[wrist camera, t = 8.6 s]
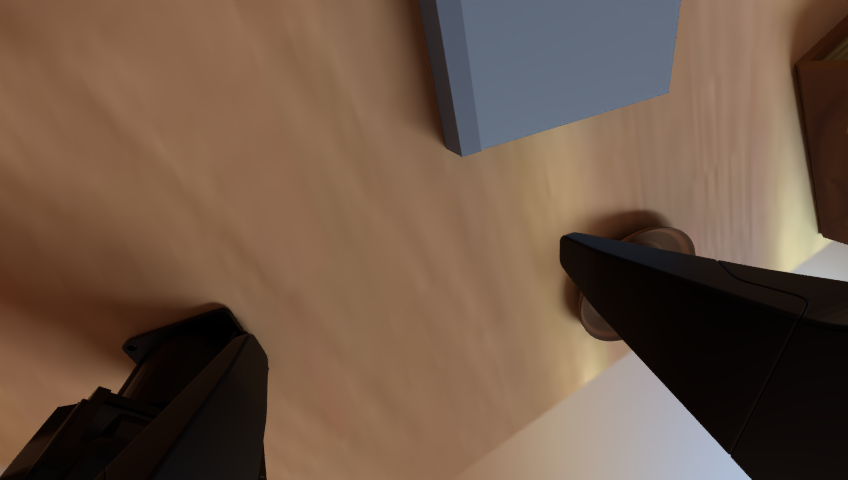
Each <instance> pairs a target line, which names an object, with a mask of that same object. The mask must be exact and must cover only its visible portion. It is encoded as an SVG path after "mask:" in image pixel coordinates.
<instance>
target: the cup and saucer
mask: <svg viewBox="0 0 848 480" xmlns="http://www.w3.org/2000/svg"><path fill="white" fill-rule="evenodd" d="M620 241H623V242H628V243H633V244H638V245H643V246H648V247H654V248H659V249H664V250H669V251H674V252H679V253H684V254H690V255H695V248H694V245H693V242H692V240H691V239H690V237H689V236H688V235H687V234H685V233H684V232H682V231H681V230H678V229H675V228H670V227H651V228H647V229H643V230H641V231H638V232H636V233H633V234H631V235H629V236H627V237H625V238H624V239H622V240H620ZM578 313H579V318H580V321H581V323H582V325H583V327H584V328H585V330H586V331H587V332H588V333H589V334H590V335H591V336H592V337H594V338H596V339H599V340H602V341H619V340H622V338H621V337H620V336H619V335H618V334H617V333H616V332H615V331H614V330H613V329H612V328H611V327H610V325H609V324H608V323H607V322H606V321H605V320H604V319H603V318H602V317H601V316H600V315H599V314H598V312H597V311H596V310H595V309H594V308H593V307H592V306H591V304H590V303H589V302H588V301H587V299H586V298H585V297H584V295H583V294H582V293H581V292H580V297H579V303H578Z"/></svg>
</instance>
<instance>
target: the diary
mask: <svg viewBox="0 0 848 480" xmlns="http://www.w3.org/2000/svg"><path fill="white" fill-rule="evenodd" d="M795 65H796V71H797V78H798V84H799V91H800V98H801V104H802V111H803V117H804V124H805V130H806V137H807V143H808V150H809V157H810V163H811V170H812V176H813V183H814V189H815V196H816V202H817V209H818V216H819V222H820V229H821V234H822V236H823V237H825V238H828V239H831V240H834V241H837V242H841V243H844V244H847V245H848V15H847V16H846V17H845V18H844V19H843V20H842V21H841V22H840V23H839V24H837V25H836V26H835V27H834V28H833V29H832V30H831V31H830V32H829V33H828V34H827V35H826V36H825V37H824V38H822V39H821V40H820V41H819V42H818V43H817V44H816V45H815V46H814V47H813V48H812V49H811V50H810V51H809V52H807V53H806V54H805V55H804V56H803V57H802V58H801V59H800V60H799V61H798V62H797V63H796V64H795Z"/></svg>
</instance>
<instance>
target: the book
mask: <svg viewBox="0 0 848 480" xmlns="http://www.w3.org/2000/svg"><path fill="white" fill-rule="evenodd" d="M418 1H419V6H420V12H421V17H422V22H423V28H424V33H425V38H426V43H427V49H428V54H429V59H430V65H431V70H432V75H433V81H434V86H435V91H436V96H437V102H438V107H439V112H440V118H441V123H442V128H443V133H444V139H445V144H446V149H448V150H450V151H452V152H454V153H456V154H458V155H460V156H461V157H463V156H467V155H470V154H473V153H477V152H480V151H481V150H483V149H486V148H489V147H492V146H496V145H499V144H502V143H506V142H509V141H512V140H515V139H519V138H522V137H525V136H529V135H532V134H535V133H538V132H542V131H545V130H548V129H552V128H555V127H558V126H561V125H565V124H568V123H571V122H575V121H578V120H581V119H584V118H588V117H591V116H594V115H598V114H601V113H604V112H607V111H611V110H614V109H617V108H621V107H624V106H627V105H630V104H634V103H637V102H640V101H644V100H647V99H650V98H653V97H657V96H660V95H663V94H667V93H669V86H670V79H671V71H672V64H673V56H674V48H675V41H676V33H677V25H678V18H679V10H680V2H681V0H418Z"/></svg>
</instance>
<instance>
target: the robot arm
mask: <svg viewBox="0 0 848 480" xmlns="http://www.w3.org/2000/svg"><path fill="white" fill-rule="evenodd" d="M560 263H561V265H562V267H563V269H564V270H565V271H566V273H567V274H568V275H569V277H570V278H571V279H572V281H573V282H574V283H575V285H576V286H577V287H578V289H579V290H580V291H581V293H582V294H583V295H584V297H585V298H586V299H587V301H588V302H589V303H590V304H591V306H592V307H593V308H594V309H595V310H596V311H597V312H598V314H599V315H600V316H601V317H602V318H603V319H604V320H605V321H606V322H607V323H608V324H609V325H610V327H611V328H612V329H613V330H614V331H615V332H616V333H617V334H618V335H619V336H620V337H621V338H622V340H623V341H624V342H625V343H626V344H627V345H628V346H629V347H630V348H631V349H632V350H633V351H634V352H635V354H637V356H638V357H639V358H640V359H641V360H642V361H643V362H644V363H645V364H646V365H647V366H648V368H649V369H650V370H651V371H652V372H653V373H654V374H655V375H656V376H657V377H658V378H659V379H660V380H661V382H662V383H663V384H664V385H665V386H666V387H667V388H668V389H669V390H670V391H671V392H672V393H673V395H674V396H675V397H676V398H677V399H678V400H679V401H680V402H681V403H682V404H683V405H684V407H686V409H687V410H688V411H689V412H690V413H691V414H692V415H693V416H694V417H695V418H696V420H698V422H699V423H700V424H701V425H702V426H703V427H704V428H705V429H706V430H707V431H708V432H709V433H710V435H711V436H712V437H713V438H714V439H715V440H716V441H717V442H718V443H719V444H720V445H721V447H722V448H723V449H724V450H725V451H726V452H727V453H728V454H730V455H731V458H732V459H733V460H734V461H735V462H736V463H737V464H738V465H739V466H740V467H741V468H742V470H743V471H744V472H745V473H746V474H747V475H748V476H749V477H750V478H751V479H752V480H848V282H846V281H840V280H833V279H827V278H819V277H813V276H807V275H800V274H794V273H788V272H782V271H775V270H769V269H763V268H758V267H752V266H747V265H741V264H736V263H731V262H726V261H721V260H719V261H716V260H715V259H710V258H705V257H700V256H695V255H690V254H684V253H679V252H674V251H669V250H664V249H659V248H654V247H648V246H643V245H638V244H633V243H628V242H623V241H618V240H613V239H607V238H602V237H597V236H592V235H587V234H582V233H577V232H573V233H570V234H567V235H563V236H562V237H561V239H560ZM220 315H225V316H226V317H221V316H220ZM132 345H135V346H137V347H134V346H132ZM122 349H123V350H124V352H125V353H126V354H127V355H128V356H129V357H130V358H131V359H132V360H133V361H134V362H135V363H136V364H137V365H136V367H135V368H134V370H133V371H132V373H131V374H130V376H129V377H128V379H127V380H126V382H125V383H124V385H123V386H122V387H121V389H120V390H119V392H118V393H117V394H114V393H111V390H109V389H106V388H103V387H100V386H99V387H98V388H97V389H96V390H95V391H94V392H93V394H92V395H91V396H90V397H89V398H88V399H87V400H86V399H82V400H81V401H80V402H78V403H77V404H73V405H67V406H62V407H58V408H57V409H56V410H55V411H54V412H53V413H52V415H51V416H50V417H49V418H48V419H47V420H46V422H45V423H44V424H43V425H42V426H41V428H40V429H39V430H38V431H37V432H36V434H35V435H34V436H33V437H32V438H31V440H30V441H29V442H28V443H27V444H26V446H25V447H24V448H23V449H22V450H21V452H20V453H19V454H18V455H17V456H16V458H15V459H14V460H13V461H12V463H11V464H10V465H9V466H8V468H7V469H6V470H5V471H4V472H3V474H2V475H1V476H0V480H267V478H266V467H265V455H264V443H263V439H264V432H265V424H266V415H267V384H268V371H269V367H268V358H267V355H266V353H265V351H264V350H263V348H262V347H261V345H260V344H259V342H258V340H257V339H256V337H255V336H254V335H253V334H249V333H248V332H246V331H244V330H243V328H242V327H241V325H240V324H239V322H238V321H237V319H236V318H235V316H234V315H233V313H232V312H231V311H230V310H229V309H227V308H219V309H216V310H213V311H210V312H207V313H204V314H201V315H198V316H195V317H192V318H189V319H186V320H183V321H180V322H177V323H174V324H171V325H168V326H165V327H162V328H159V329H156V330H153V331H150V332H147V333H144V334H141V335H138V336H135V337H132V338H130V339H128V340H127V341H126V342H125V343H124V345H123V346H122Z"/></svg>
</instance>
